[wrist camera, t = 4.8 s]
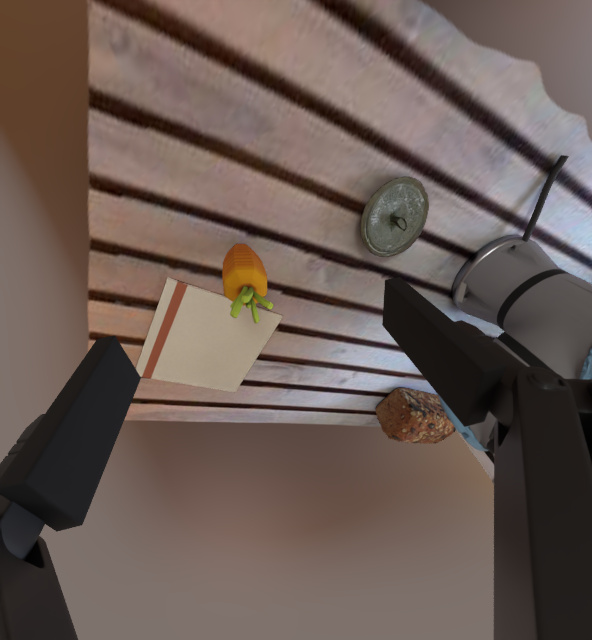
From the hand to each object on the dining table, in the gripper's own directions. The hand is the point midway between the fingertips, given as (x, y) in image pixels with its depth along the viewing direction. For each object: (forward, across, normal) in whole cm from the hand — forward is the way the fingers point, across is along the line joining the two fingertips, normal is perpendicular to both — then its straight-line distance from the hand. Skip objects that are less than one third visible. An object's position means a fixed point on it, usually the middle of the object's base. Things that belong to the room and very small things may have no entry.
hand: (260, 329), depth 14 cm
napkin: (+27, -11, -19) cm, 35 cm away
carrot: (+26, -2, -4) cm, 26 cm away
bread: (+32, +31, -54) cm, 70 cm away
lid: (+26, +20, -4) cm, 33 cm away
